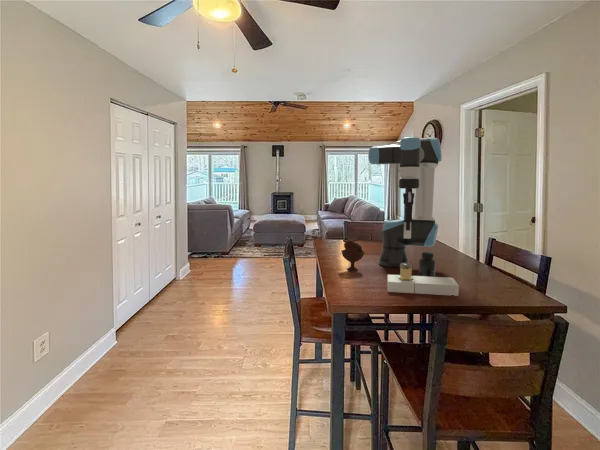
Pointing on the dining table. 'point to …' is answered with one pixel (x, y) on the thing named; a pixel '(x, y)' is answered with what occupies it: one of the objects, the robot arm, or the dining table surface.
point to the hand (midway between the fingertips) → (407, 238)
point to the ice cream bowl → (352, 253)
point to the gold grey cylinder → (405, 271)
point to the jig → (423, 285)
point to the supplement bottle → (427, 265)
